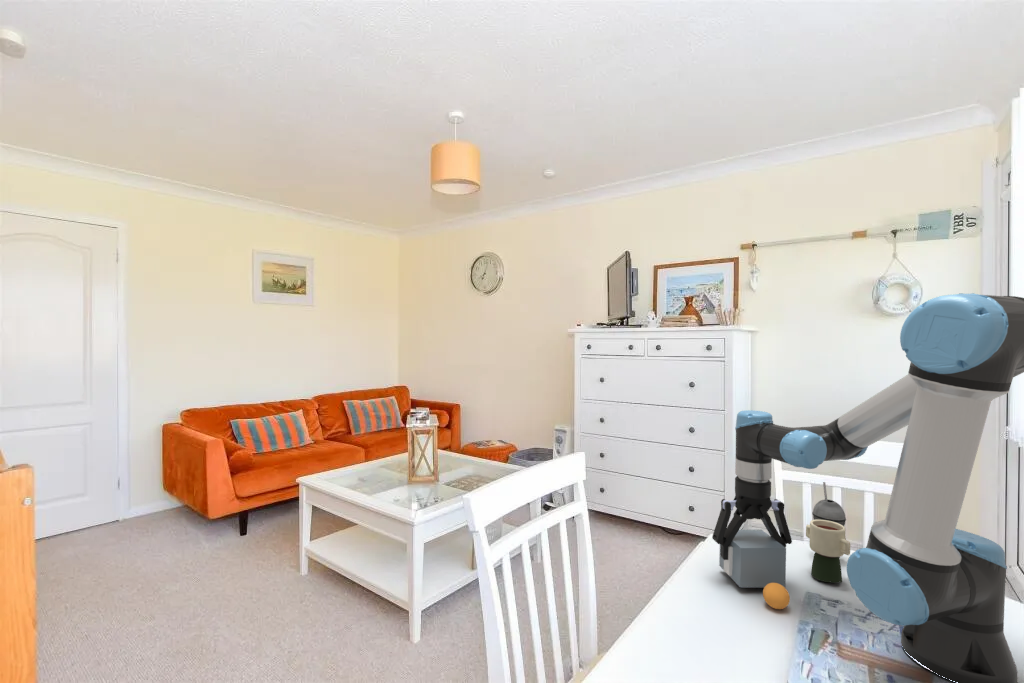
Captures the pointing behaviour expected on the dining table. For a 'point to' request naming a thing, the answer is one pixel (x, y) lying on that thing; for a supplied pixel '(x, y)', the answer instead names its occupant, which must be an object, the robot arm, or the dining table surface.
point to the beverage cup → (829, 510)
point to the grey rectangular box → (757, 559)
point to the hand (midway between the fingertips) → (751, 572)
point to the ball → (776, 595)
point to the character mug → (827, 549)
